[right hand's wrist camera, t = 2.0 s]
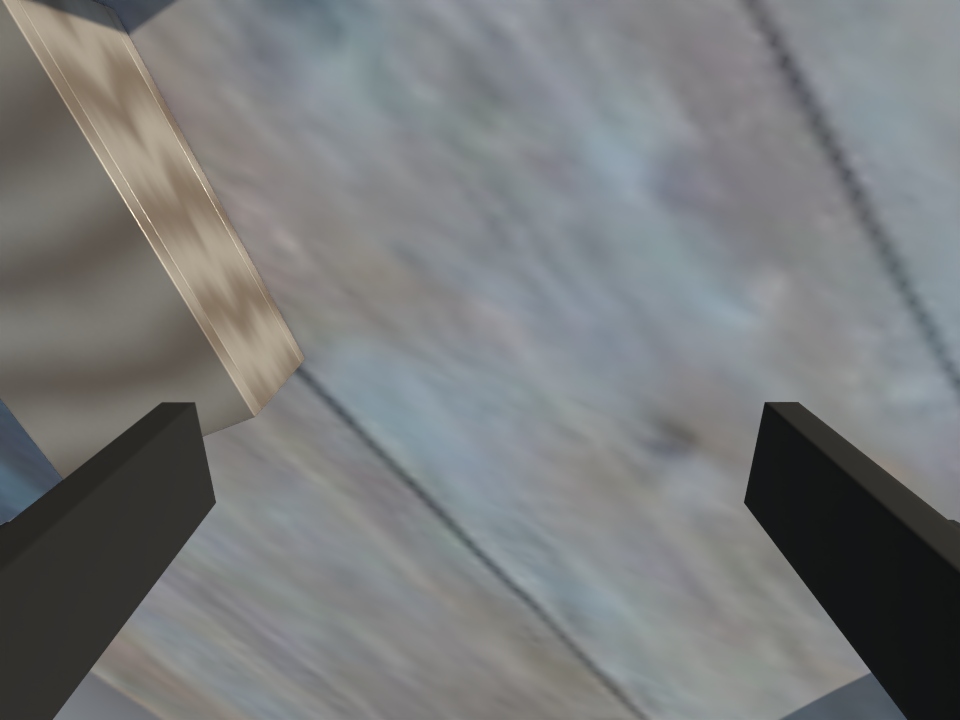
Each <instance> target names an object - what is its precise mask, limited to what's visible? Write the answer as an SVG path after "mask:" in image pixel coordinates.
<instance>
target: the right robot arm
mask: <svg viewBox="0 0 960 720" xmlns="http://www.w3.org/2000/svg"><path fill="white" fill-rule="evenodd" d="M215 503H216V500H215V496H214V491H213V486H212V481H211V476H210V471H209V467H208V462H207V457H206V452H205V447H204V442H203V438H202V433H201V428H200V423H199V418H198V414H197V409H196V404H195V402H161V403H160V404H159V405H158V406H156V407H155V408H154V409H153V410H151V411H150V412H149V413H148V414H146V415H145V416H144V417H142V418H141V419H140V420H139V421H137V422H136V423H135V424H134V425H132V426H131V427H130V428H128V429H127V430H126V431H125V432H123V433H122V434H121V435H120V436H118V437H117V438H116V439H114V440H113V441H112V442H111V443H109V444H108V445H107V446H106V447H104V448H103V449H102V450H100V451H99V452H98V453H97V454H95V455H94V456H93V457H92V458H90V459H89V460H88V461H86V462H85V463H84V464H83V465H81V466H80V467H79V468H78V469H76V470H75V471H74V472H72V473H71V474H70V475H69V476H67V477H66V478H65V479H64V480H62V481H61V482H60V483H58V484H57V485H56V486H55V487H53V488H52V489H51V490H50V491H48V492H47V493H46V494H45V495H43V496H42V497H41V498H39V499H38V500H37V501H36V502H34V503H33V504H32V505H31V506H29V507H28V508H27V509H25V510H24V511H23V512H22V513H20V514H19V515H18V516H17V517H15V518H14V519H13V520H11V521H10V522H6V523H4V524H2V525H0V720H53V718H54V717H55V716H56V714H57V713H58V712H59V710H60V709H61V708H62V706H63V705H64V704H65V702H66V701H67V700H68V699H69V697H70V696H71V695H72V693H73V692H74V691H75V689H76V688H77V687H78V685H79V684H80V682H81V681H82V680H83V679H84V677H85V676H86V675H87V673H88V672H89V671H90V669H91V668H92V667H93V665H94V664H95V663H96V661H97V660H98V659H99V657H100V656H101V655H102V653H103V652H104V651H105V649H106V648H107V647H108V645H109V644H110V643H111V641H112V640H113V639H114V637H115V636H116V635H117V633H118V632H119V631H120V629H121V628H122V627H123V625H124V624H125V623H126V621H127V620H128V619H129V618H130V616H131V615H132V614H133V612H134V611H135V610H136V608H137V607H138V606H139V604H140V603H141V602H142V600H143V599H144V598H145V596H146V595H147V594H148V592H149V591H150V590H151V588H152V587H153V586H154V584H155V583H156V582H157V580H158V579H159V578H160V576H161V575H162V574H163V572H164V571H165V570H166V568H167V567H168V566H169V564H170V563H171V562H172V560H173V559H174V558H175V556H176V555H177V554H178V552H179V551H180V550H181V548H182V547H183V546H184V544H185V543H186V542H187V540H188V539H189V538H190V537H191V535H192V534H193V533H194V531H195V530H196V529H197V527H198V526H199V525H200V523H201V522H202V521H203V519H204V518H205V517H206V515H207V514H208V513H209V511H210V510H211V509H212V507H213V506H214V505H215ZM744 503H745V505H746V506H747V507H748V509H749V510H750V511H751V513H752V514H753V515H754V517H755V518H756V519H757V521H758V522H759V523H760V525H761V526H762V527H763V529H764V530H765V531H766V533H767V534H768V535H769V537H770V538H771V539H772V540H773V542H774V543H775V544H776V546H777V547H778V548H779V550H780V551H781V552H782V554H783V555H784V556H785V558H786V559H787V560H788V562H789V563H790V564H791V566H792V567H793V568H794V570H795V571H796V572H797V574H798V575H799V576H800V578H801V579H802V580H803V582H804V583H805V584H806V586H807V587H808V588H809V590H810V591H811V592H812V594H813V595H814V596H815V598H816V599H817V600H818V602H819V603H820V604H821V606H822V607H823V608H824V610H825V611H826V612H827V614H828V615H829V616H830V618H831V619H832V620H833V621H834V623H835V624H836V625H837V627H838V628H839V629H840V631H841V632H842V633H843V635H844V636H845V637H846V639H847V640H848V641H849V643H850V644H851V645H852V647H853V648H854V649H855V651H856V652H857V653H858V655H859V656H860V657H861V659H862V660H863V661H864V663H865V664H866V665H867V667H868V668H869V669H870V671H871V672H872V673H873V675H874V676H875V677H876V679H877V680H878V681H879V683H880V684H881V685H882V687H883V688H884V689H885V691H886V692H887V693H888V695H889V696H890V697H891V699H892V700H893V701H894V703H895V704H896V705H897V706H898V708H899V709H900V710H901V712H902V713H903V714H904V716H905V717H906V718H907V720H960V523H959V522H957V521H955V520H947V519H946V518H945V517H943V516H942V515H941V514H940V513H938V512H937V511H936V510H935V509H933V508H932V507H931V506H929V505H928V504H927V503H926V502H924V501H923V500H922V499H921V498H919V497H918V496H917V495H915V494H914V493H913V492H912V491H910V490H909V489H908V488H907V487H905V486H904V485H903V484H902V483H900V482H899V481H898V480H896V479H895V478H894V477H893V476H891V475H890V474H889V473H888V472H886V471H885V470H884V469H882V468H881V467H880V466H879V465H877V464H876V463H875V462H874V461H872V460H871V459H870V458H868V457H867V456H866V455H865V454H863V453H862V452H861V451H860V450H858V449H857V448H856V447H854V446H853V445H852V444H851V443H849V442H848V441H847V440H846V439H844V438H843V437H842V436H840V435H839V434H838V433H837V432H835V431H834V430H833V429H832V428H830V427H829V426H828V425H826V424H825V423H824V422H823V421H821V420H820V419H819V418H818V417H816V416H815V415H814V414H812V413H811V412H810V411H809V410H807V409H806V408H805V407H804V406H802V405H801V404H800V403H799V402H765V404H764V409H763V414H762V418H761V423H760V428H759V433H758V438H757V442H756V447H755V452H754V457H753V462H752V467H751V471H750V476H749V481H748V486H747V491H746V496H745V500H744Z"/></svg>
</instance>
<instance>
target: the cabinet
mask: <svg viewBox="0 0 960 720" xmlns="http://www.w3.org/2000/svg"><path fill="white" fill-rule="evenodd" d="M304 359H305V358H304V357H303V355H302V353H301V351H300V349H299V347H298V346H297V344H296V342H295V340H294V338H293V336H292V335H291V333H290V331H289V329H288V327H287V325H286V324H285V322H284V320H283V318H282V316H281V314H280V313H279V311H278V309H277V307H276V305H275V303H274V302H273V300H272V298H271V296H270V294H269V292H268V291H267V289H266V287H265V285H264V283H263V281H262V280H261V278H260V276H259V274H258V272H257V270H256V269H255V267H254V265H253V263H252V261H251V259H250V258H249V256H248V254H247V252H246V250H245V248H244V247H243V245H242V243H241V241H240V239H239V237H238V236H237V234H236V232H235V230H234V228H233V226H232V225H231V223H230V221H229V219H228V217H227V215H226V214H225V212H224V210H223V208H222V206H221V204H220V203H219V201H218V199H217V197H216V195H215V193H214V192H213V190H212V188H211V186H210V184H209V183H208V181H207V179H206V177H205V175H204V173H203V172H202V170H201V168H200V166H199V164H198V162H197V161H196V159H195V157H194V155H193V153H192V151H191V150H190V148H189V146H188V144H187V142H186V140H185V139H184V137H183V135H182V133H181V131H180V129H179V128H178V126H177V124H176V122H175V120H174V118H173V117H172V115H171V113H170V111H169V109H168V107H167V106H166V104H165V102H164V100H163V98H162V96H161V95H160V93H159V91H158V89H157V87H156V85H155V84H154V82H153V80H152V78H151V76H150V74H149V73H148V71H147V69H146V67H145V65H144V63H143V62H142V60H141V58H140V56H139V54H138V52H137V51H136V49H135V47H134V45H133V43H132V41H131V40H130V38H129V36H128V34H127V32H126V30H125V29H124V27H123V25H122V23H121V21H120V19H119V18H118V16H117V14H116V12H115V10H114V9H112V8H110V7H107V6H105V5H102V4H100V3H97V2H95V1H92V0H0V399H1V400H2V402H3V403H4V404H5V406H6V407H7V408H8V409H9V411H10V412H11V413H12V415H13V416H14V417H15V418H16V420H17V421H18V422H19V424H20V425H21V426H22V427H23V429H24V430H25V431H26V433H27V434H28V435H29V436H30V438H31V439H32V440H33V442H34V443H35V444H36V445H37V447H38V448H39V449H40V451H41V452H42V453H43V454H44V456H45V457H46V458H47V460H48V461H49V462H50V463H51V465H52V466H53V467H54V468H55V470H56V471H57V472H58V474H59V475H60V476H61V477H62V479H63V480H64V479H65V478H66V477H67V476H69V475H70V474H71V473H72V472H74V471H75V470H76V469H78V468H79V467H80V466H81V465H83V464H84V463H85V462H86V461H88V460H89V459H90V458H92V457H93V456H94V455H95V454H97V453H98V452H99V451H100V450H102V449H103V448H104V447H106V446H107V445H108V444H109V443H111V442H112V441H113V440H114V439H116V438H117V437H118V436H120V435H121V434H122V433H123V432H125V431H126V430H127V429H128V428H130V427H131V426H132V425H134V424H135V423H136V422H137V421H139V420H140V419H141V418H142V417H144V416H145V415H146V414H148V413H149V412H150V411H151V410H153V409H154V408H155V407H156V406H158V405H159V404H160V403H161V402H195V404H196V409H197V414H198V418H199V423H200V428H201V433H202V437H203V436H206V435H208V434H211V433H214V432H216V431H219V430H222V429H224V428H227V427H229V426H232V425H235V424H237V423H240V422H243V421H245V420H248V419H251V418H253V417H255V416H256V415H257V414H258V413H259V412H260V410H261V409H262V408H263V407H264V406H265V405H266V404H267V403H268V401H269V400H270V399H271V398H272V397H273V396H274V395H275V393H276V392H277V391H278V390H279V389H280V388H281V386H282V385H283V384H284V383H285V382H286V381H287V379H288V378H289V377H290V376H291V375H292V374H293V372H294V371H295V370H296V369H297V368H298V367H299V365H300V364H301V363H302V362H303V361H304Z"/></svg>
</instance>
